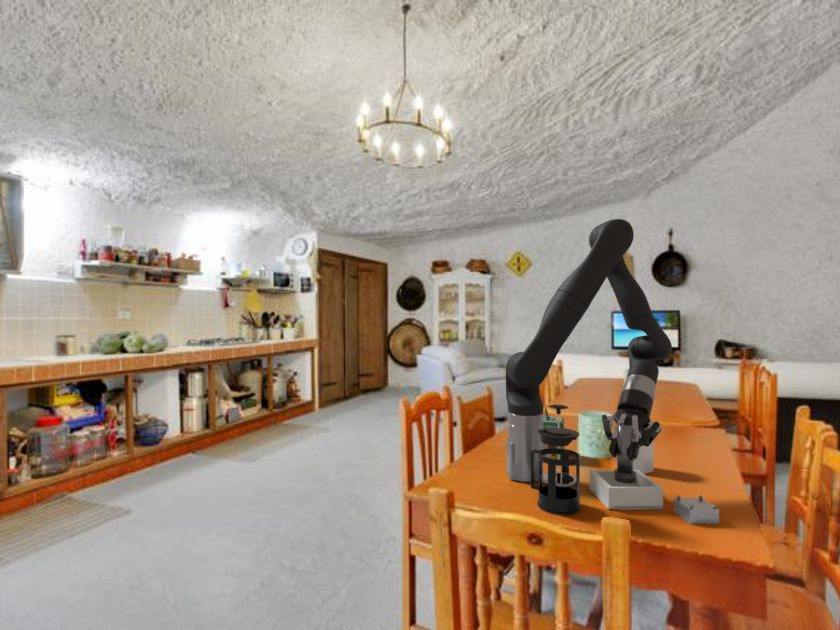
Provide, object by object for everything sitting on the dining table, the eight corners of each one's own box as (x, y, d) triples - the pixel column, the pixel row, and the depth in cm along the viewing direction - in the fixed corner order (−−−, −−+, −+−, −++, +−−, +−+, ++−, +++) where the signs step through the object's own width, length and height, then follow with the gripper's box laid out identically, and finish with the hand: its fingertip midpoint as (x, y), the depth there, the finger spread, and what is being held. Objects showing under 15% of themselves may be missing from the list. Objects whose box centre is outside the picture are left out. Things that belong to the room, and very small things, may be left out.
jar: (616, 471, 129) (616, 427, 129) (619, 462, 136) (619, 421, 136) (652, 476, 124) (652, 431, 124) (654, 467, 131) (653, 425, 131)
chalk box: (564, 462, 137) (564, 412, 137) (532, 459, 140) (532, 410, 140) (565, 453, 145) (564, 406, 145) (535, 450, 148) (534, 404, 148)
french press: (589, 505, 106) (588, 404, 106) (576, 520, 98) (575, 411, 98) (539, 493, 113) (539, 399, 113) (523, 506, 105) (523, 405, 105)
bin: (608, 509, 103) (608, 488, 103) (589, 489, 115) (589, 470, 115) (663, 509, 103) (662, 488, 103) (638, 489, 115) (638, 470, 115)
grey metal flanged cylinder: (619, 483, 107) (618, 427, 107) (611, 476, 112) (610, 422, 112) (639, 483, 107) (638, 427, 107) (630, 476, 112) (630, 422, 112)
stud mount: (689, 523, 96) (689, 505, 96) (674, 511, 102) (674, 494, 102) (719, 523, 96) (719, 505, 96) (701, 511, 102) (701, 494, 102)
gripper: (604, 385, 120) (587, 443, 110) (665, 390, 110) (651, 454, 101) (612, 402, 124) (595, 459, 114) (670, 409, 114) (658, 471, 105)
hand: (622, 456), depth 108 cm, fingers closed on grey metal flanged cylinder, 3 cm apart
